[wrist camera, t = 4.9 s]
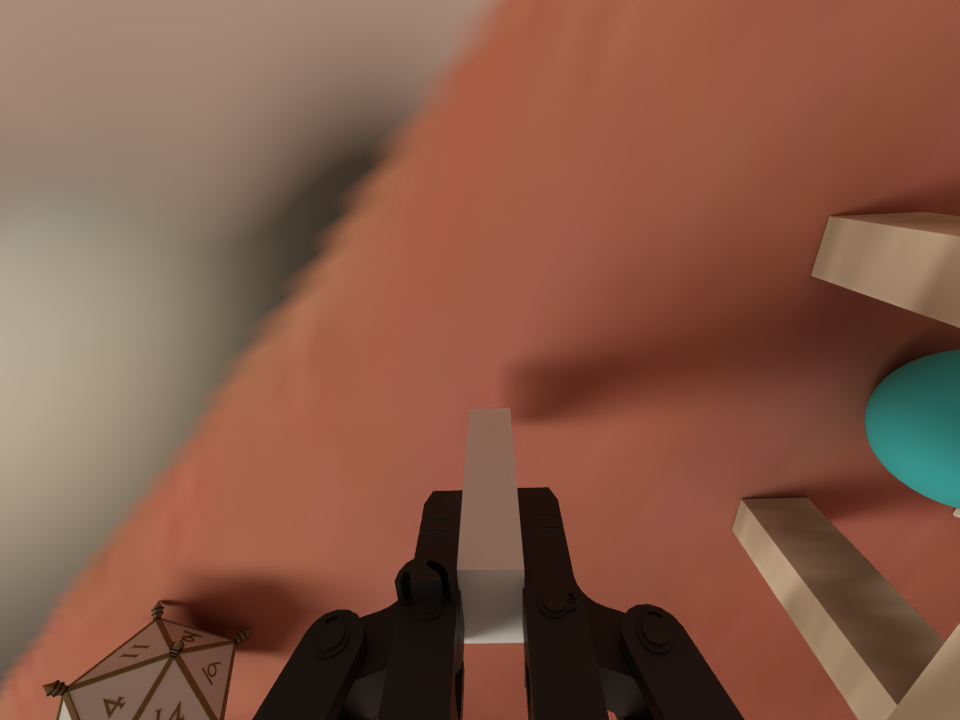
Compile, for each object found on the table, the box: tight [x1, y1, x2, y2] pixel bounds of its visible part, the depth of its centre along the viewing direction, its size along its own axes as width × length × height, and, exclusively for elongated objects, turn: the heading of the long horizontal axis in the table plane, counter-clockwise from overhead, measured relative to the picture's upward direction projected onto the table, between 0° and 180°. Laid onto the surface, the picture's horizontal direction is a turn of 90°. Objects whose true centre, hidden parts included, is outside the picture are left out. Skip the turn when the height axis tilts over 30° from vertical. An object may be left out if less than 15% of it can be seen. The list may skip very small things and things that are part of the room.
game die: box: [43, 601, 251, 720], centre depth 21 cm, size 9×8×10 cm
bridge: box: [732, 212, 960, 720], centre depth 12 cm, size 3×14×9 cm, turn 3°
